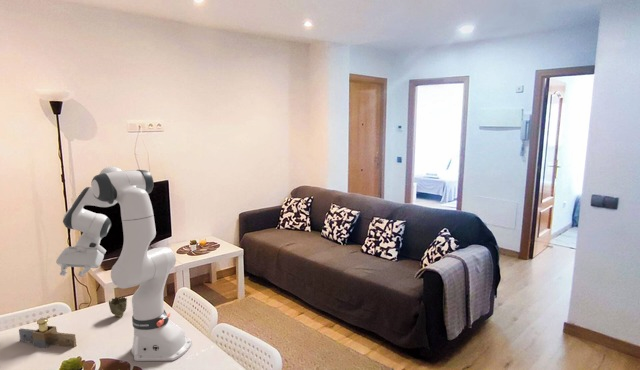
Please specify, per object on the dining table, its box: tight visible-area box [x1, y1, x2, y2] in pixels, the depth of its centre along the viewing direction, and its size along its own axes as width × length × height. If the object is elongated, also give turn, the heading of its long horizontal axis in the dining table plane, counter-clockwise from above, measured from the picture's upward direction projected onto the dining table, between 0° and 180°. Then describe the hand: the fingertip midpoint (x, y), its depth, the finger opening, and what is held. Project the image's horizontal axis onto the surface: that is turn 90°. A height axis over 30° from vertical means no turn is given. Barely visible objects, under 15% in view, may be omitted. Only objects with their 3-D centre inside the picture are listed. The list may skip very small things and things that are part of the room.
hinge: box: [18, 325, 77, 349], centre depth 155 cm, size 26×6×6 cm, turn 80°
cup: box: [108, 296, 128, 319], centre depth 177 cm, size 8×7×8 cm
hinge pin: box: [36, 317, 49, 333], centre depth 155 cm, size 4×4×10 cm
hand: (71, 275), depth 167 cm, fingers open, 8 cm apart
